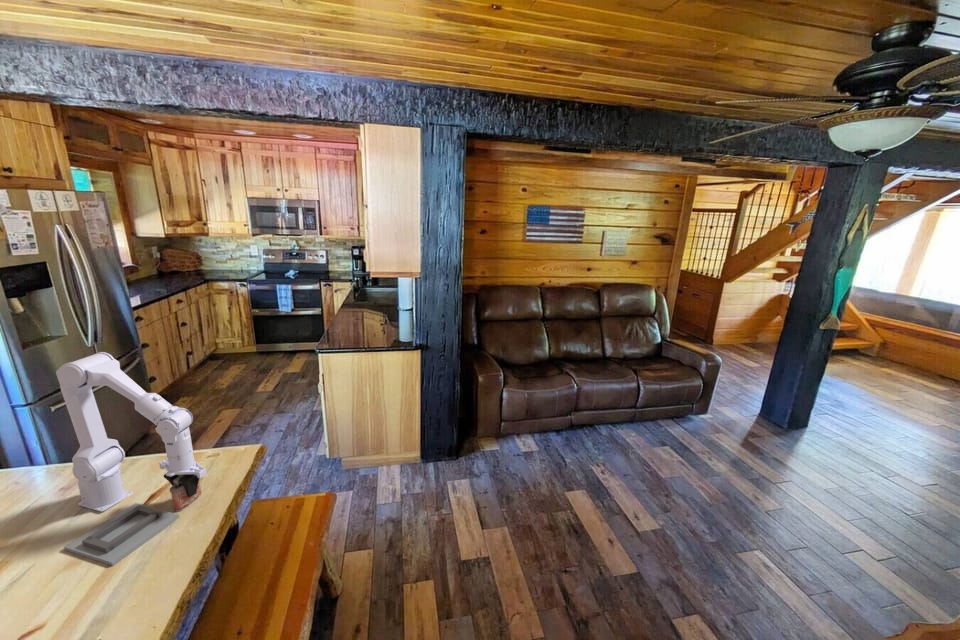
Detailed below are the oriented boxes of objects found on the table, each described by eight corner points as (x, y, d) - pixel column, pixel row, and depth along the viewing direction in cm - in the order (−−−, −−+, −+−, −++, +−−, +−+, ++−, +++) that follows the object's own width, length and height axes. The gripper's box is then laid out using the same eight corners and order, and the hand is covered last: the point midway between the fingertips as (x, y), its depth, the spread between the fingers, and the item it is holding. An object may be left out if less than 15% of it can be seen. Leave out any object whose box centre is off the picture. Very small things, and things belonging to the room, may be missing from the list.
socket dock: (64, 550, 94) (62, 541, 93) (136, 505, 109) (134, 498, 108) (112, 566, 90) (110, 557, 90) (179, 517, 105) (178, 510, 105)
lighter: (180, 514, 106) (174, 483, 104) (170, 512, 107) (164, 481, 105) (205, 495, 114) (201, 466, 112) (196, 493, 115) (191, 464, 112)
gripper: (144, 455, 104) (153, 497, 108) (186, 465, 101) (193, 508, 104) (170, 441, 111) (177, 481, 114) (210, 450, 108) (216, 491, 111)
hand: (187, 493), depth 110 cm, fingers closed on lighter, 3 cm apart
